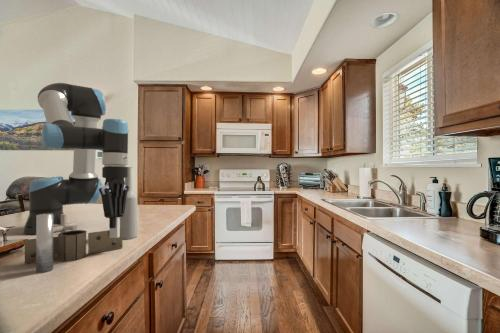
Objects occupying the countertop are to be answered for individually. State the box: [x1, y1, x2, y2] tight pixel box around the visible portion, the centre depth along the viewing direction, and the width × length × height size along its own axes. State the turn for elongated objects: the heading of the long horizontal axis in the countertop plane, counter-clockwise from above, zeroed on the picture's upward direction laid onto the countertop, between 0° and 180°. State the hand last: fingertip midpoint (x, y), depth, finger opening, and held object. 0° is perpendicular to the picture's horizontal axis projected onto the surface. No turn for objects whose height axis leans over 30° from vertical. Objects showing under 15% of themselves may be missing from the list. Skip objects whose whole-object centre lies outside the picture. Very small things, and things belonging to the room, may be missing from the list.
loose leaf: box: [87, 228, 123, 255], centre depth 87 cm, size 10×1×6 cm, turn 130°
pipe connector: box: [53, 213, 78, 234], centre depth 99 cm, size 10×10×10 cm
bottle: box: [120, 166, 138, 240], centre depth 104 cm, size 7×7×28 cm
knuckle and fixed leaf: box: [24, 229, 87, 265], centre depth 79 cm, size 7×15×8 cm, turn 116°
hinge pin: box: [35, 214, 54, 274], centre depth 71 cm, size 4×4×15 cm
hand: (114, 237), depth 87 cm, fingers closed
